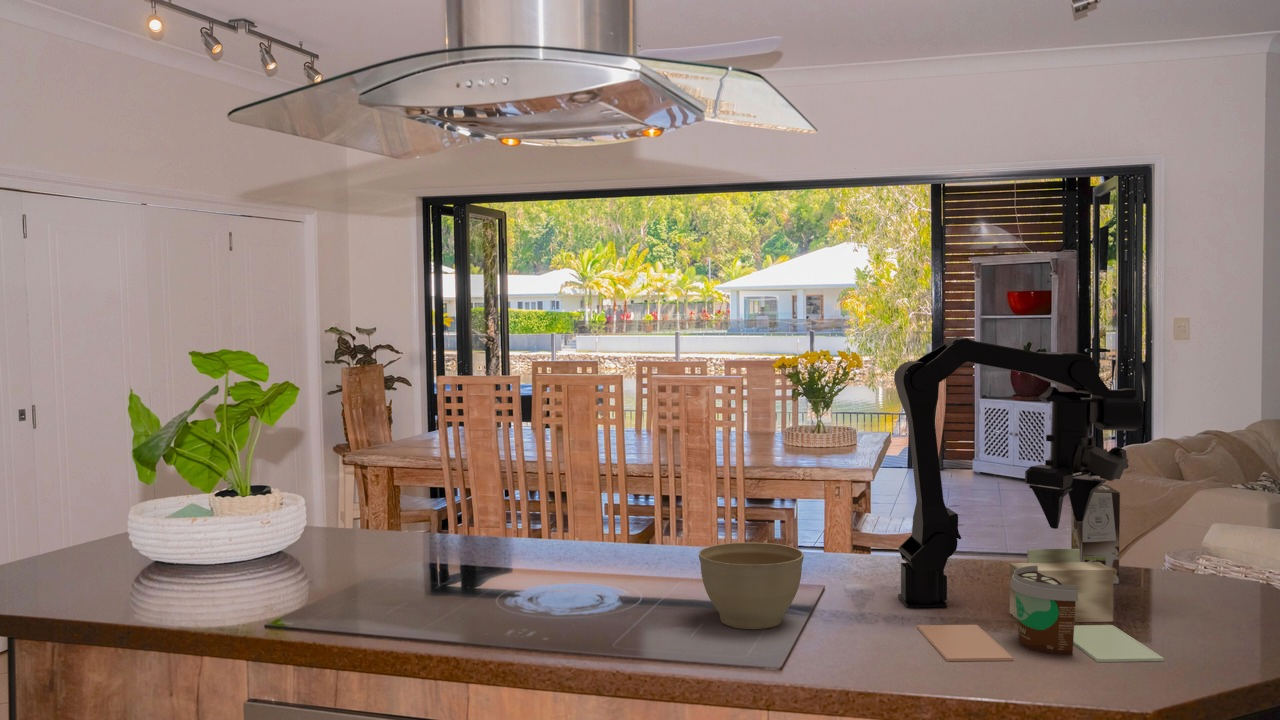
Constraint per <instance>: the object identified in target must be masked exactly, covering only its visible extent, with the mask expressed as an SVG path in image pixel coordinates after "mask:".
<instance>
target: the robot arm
mask: <svg viewBox="0 0 1280 720" xmlns="http://www.w3.org/2000/svg"><path fill="white" fill-rule="evenodd" d="M966 363H970V364H971V363H972V364H975V365H979V366H981V365H982V366H988V367H993V368H999V369H1002V370H1008V371H1014V372H1019V373H1025V374H1029V375H1031V376H1034V377H1037V378H1039V379H1041V380H1043V381H1045V382H1048V383H1051V384H1054V385H1057V386H1059V387H1064V388H1071V389H1072V390H1074V391H1068V390H1067V391H1062V390H1061V391H1060V390H1059V389H1058V388H1057V387H1056V386H1049V387H1048V388H1047V390H1045V391H1044V392H1043V393H1042V394H1040V395H1039V396H1038V399H1039V400H1040V401H1044V402H1049V403H1050V402H1051V403H1052V404H1051V425H1050V426H1051V432H1050V434H1046V435H1045V441H1046V442H1050V457H1049V459H1045V464H1037V465H1032V466H1030V467H1028V468H1027V469H1026V470H1025V472H1024V483H1025V484H1027V485H1028V488H1029V489H1031V490H1032V492H1033V494H1034V496H1035V497H1036V499H1037V501H1038V503H1039V505H1040V508H1041V509H1042V512H1043V514H1044V516H1045V519H1046V521H1047V522H1048V523H1047V524H1048V526H1049V527H1050V529H1053V530H1054V529H1056V530H1057V529H1058V528H1059V527H1060V521H1061V516H1062V515H1061V514H1062V509H1063V503H1064V498H1065V496H1067V494H1068V497H1069V501H1070V506H1071V505H1072V509H1073V513H1074V516H1075V519H1076V521H1079V522H1082V521H1083V520H1084V517H1085V515H1086V512H1087V509H1088V506H1089V503H1090V500H1091V497H1092V495H1093V492H1094V490H1095V489H1096V488H1098V487H1099V486H1100V485H1104V484H1105V483H1106V482H1107V481H1109V482H1113V481H1114V480H1120V479H1121V478H1122V476H1123V473H1124V471H1125V470H1127V469H1128V468H1129V459H1128V457H1127V450H1126V449H1124V448H1122V447H1120V446H1114V447H1112V448H1111V449H1109V450H1108V449H1106V448H1103V449H1102V448H1100V447H1098V446H1097V445H1096V443H1097V440H1096V438H1095V436H1093V435H1090V427H1091V424H1093V425H1094V426H1095V428H1096V429H1097V430H1098V431H1130V432H1132V431H1133V432H1135V431H1137V430H1138V429H1139V428H1140V426H1141V423H1142V420H1143V410H1142V408H1141V404H1140V401H1139V399H1138V397H1137V390H1136V389H1135V388H1120V389H1110V388H1108V387H1107V385H1106V383H1105V382H1104V381H1103V379H1102V377H1100V376H1099V374H1098V372H1097V369H1098V368H1097V366H1096V363H1095V360H1094V359H1093V358H1092V356H1090V355H1089V354H1085V353H1081V352H1068V351H1066V352H1065V351H1033V350H1032V351H1031V350H1026V349H1021V348H1015V347H1010V346H1004V345H998V344H993V343H988V342H981V341H978V340H973V339H970V338H967V337H961V336H960V337H958V336H957V337H956V336H954V337H951V338H949V339H948V340H947V341H946V342H945V343H944V344H942V345H941V346H939V347H936V348H935V349H933V350H932V351H930V352H928V353H926V354H925V355H924V354H923V356H921V357H919V358H918V359H917V360H915V361H914V360H909V361H906V362H904V363H902V364H900V365H898V367H897V369H896V370H895V372H894V375H893V377H894V378H893V381H894V385H895V389H896V392H897V395H898V398H899V402H900V404H901V406H902V408H903V410H904V413H905V415H906V419H907V428H908V435H909V444H910V453H911V463H912V470H913V471H912V472H913V480H914V487H915V488H914V489H915V496H916V501H915V502H916V503H915V506H914V512H913V516H912V529H911V535H910V536H908V538H907V539H906V540H904V542H903V543H901V544H900V546H899V547H898V549H897V550H898V552H899V554H900V557H901V560H903V561H905V562H901V563H900V593H898V594H897V598H898V599H899V600H900V601H901V602H902V603H903V604H904V605H905V606H906V608H947V607H948V603H947V602H946V601H947V600H948V575H946V574H945V571H944V570H945V567H946V564H947V562H948V559H949V558H950V557H952V556H953V554H954V553H955V552H956V551H957V548H958V540H962V536H961V534H960V532H959V513H957V512H955V511H953V510H952V509H950V508H949V507H946V504H945V500H944V491H943V483H942V475H941V465H940V458H939V457H940V456H939V449H938V440H937V439H938V438H937V431H936V422H935V414H936V409H937V405H938V400H939V389H940V383H941V382H943V381H944V380H945V379H947V378H949V377H950V376H951V375H952V374H953V373H955V371H957V370H958V369H959V368H960V367H961V366H962V365H964V364H966ZM1079 393H1080V394H1081V393H1082V394H1087V395H1091V397H1080V394H1079Z"/></svg>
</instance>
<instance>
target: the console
mask: <svg viewBox="0 0 1280 720" xmlns="http://www.w3.org/2000/svg"><path fill="white" fill-rule="evenodd" d="M1026 555H1027V556H1026V557H1027V560H1026V561H1027V562H1010V563H1009V585H1010V584H1011V579H1012V576H1013V574H1014V571H1015V570H1016V569H1018V568H1021V567H1026V566H1038V573H1040V574H1042V575H1044V576H1047V577H1052V578H1055V579H1057V580H1058V581H1059V582H1060V583H1061V584H1063V585H1076V590H1077V593H1078V601H1076V605H1075V622H1074V623H1102V622H1103V623H1105V622H1106V623H1108V622H1110V623H1111V622H1112V623H1113V622H1114V584H1113V577H1114V570H1113V569H1111V568H1109V567H1107V566H1106V565H1104V564H1102V563H1100V562H1080V549H1071V548H1039V549H1038V548H1037V549H1036V548H1035V549H1034V548H1033V549H1032V548H1030V549H1027V554H1026ZM1011 614H1012V615H1013V616H1012V615H1011ZM1009 615H1011V616H1012V617H1014V618H1015V619H1016V620H1017V608H1016V595H1015V591H1014V590H1013V589H1012V588H1011V587H1010V586H1009Z"/></svg>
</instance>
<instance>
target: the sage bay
mask: <svg viewBox="0 0 1280 720" xmlns="http://www.w3.org/2000/svg"><path fill="white" fill-rule="evenodd" d="M1073 646H1075V647H1076V648H1077V649H1080V651H1082V652H1083V653H1084V654H1086V655H1088V657H1090V658H1092V659H1093V660H1094V661H1095V662H1097V663H1116V662H1117V663H1119V662H1122V663H1123V662H1124V663H1125V662H1128V663H1129V662H1132V663H1133V662H1136V663H1137V662H1165V658H1164V657H1163V656H1161V655H1160V654H1158V653H1157V652H1155V651H1153V650H1152V649H1150V648H1149V647H1147V646H1146V645H1144V644H1143V643H1141V642H1140V641H1138V640H1136V639H1135V638H1133V637H1132V636H1130V635H1128V634H1127V633H1126V632H1124V631H1122V630H1121V629H1120V628H1118V627H1116V626H1115V625H1113V624H1100V625H1099V624H1095V625H1094V624H1093V625H1091V624H1090V625H1088V624H1085V625H1082V624H1081V625H1080V624H1079V625H1075V624H1074V639H1073Z"/></svg>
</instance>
